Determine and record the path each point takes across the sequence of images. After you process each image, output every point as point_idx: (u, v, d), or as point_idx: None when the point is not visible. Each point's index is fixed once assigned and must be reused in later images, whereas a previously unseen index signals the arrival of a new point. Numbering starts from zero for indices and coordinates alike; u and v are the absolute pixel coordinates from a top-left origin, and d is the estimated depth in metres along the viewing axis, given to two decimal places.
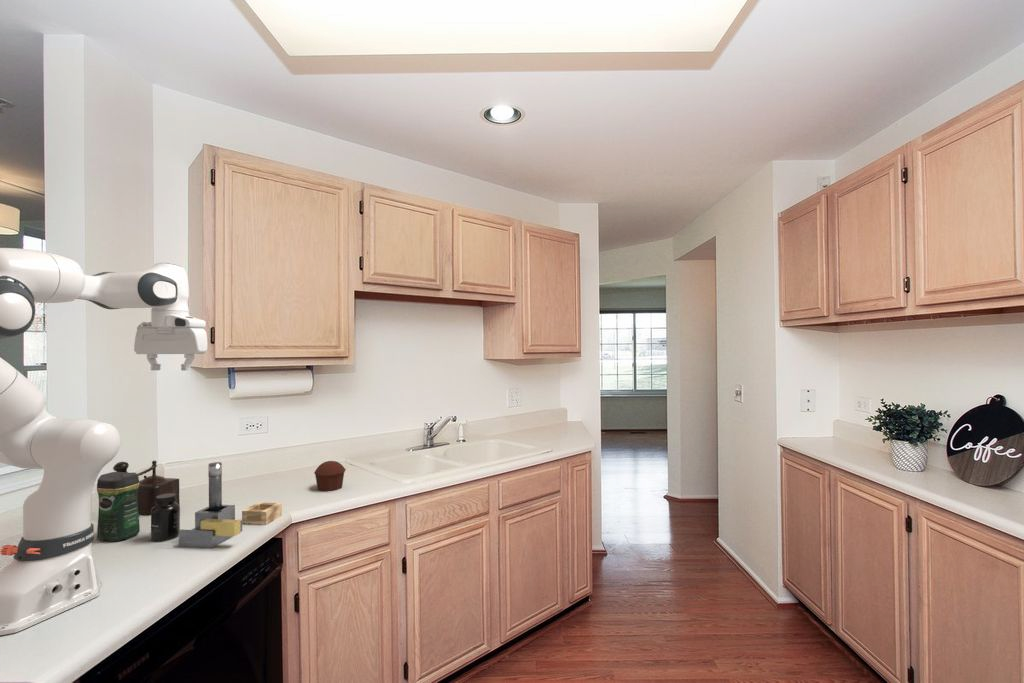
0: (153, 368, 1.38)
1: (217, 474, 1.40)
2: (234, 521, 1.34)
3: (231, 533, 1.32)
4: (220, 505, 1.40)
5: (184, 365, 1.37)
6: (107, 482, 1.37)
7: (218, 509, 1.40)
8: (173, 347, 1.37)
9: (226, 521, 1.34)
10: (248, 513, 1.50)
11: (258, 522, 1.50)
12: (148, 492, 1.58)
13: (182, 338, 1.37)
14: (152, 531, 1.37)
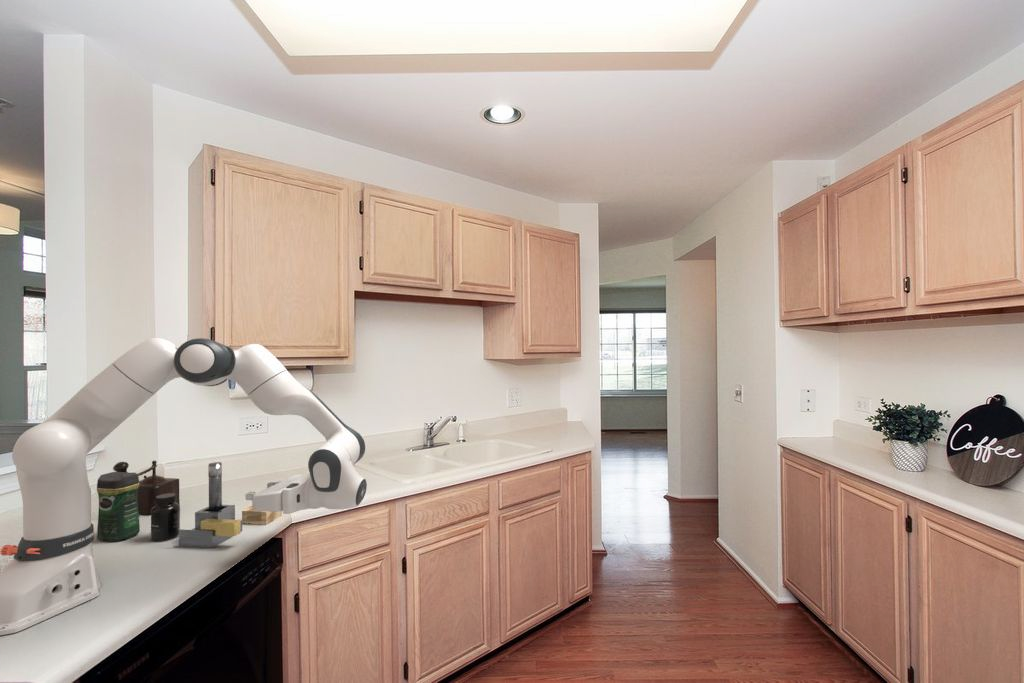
0: (270, 482, 1.37)
1: (217, 474, 1.40)
2: (234, 521, 1.34)
3: (231, 533, 1.32)
4: (220, 505, 1.40)
5: (251, 493, 1.28)
6: (107, 482, 1.37)
7: (218, 509, 1.40)
8: (275, 487, 1.30)
9: (226, 521, 1.34)
10: (248, 513, 1.50)
11: (258, 522, 1.50)
12: (148, 492, 1.58)
13: (278, 491, 1.27)
14: (152, 531, 1.37)
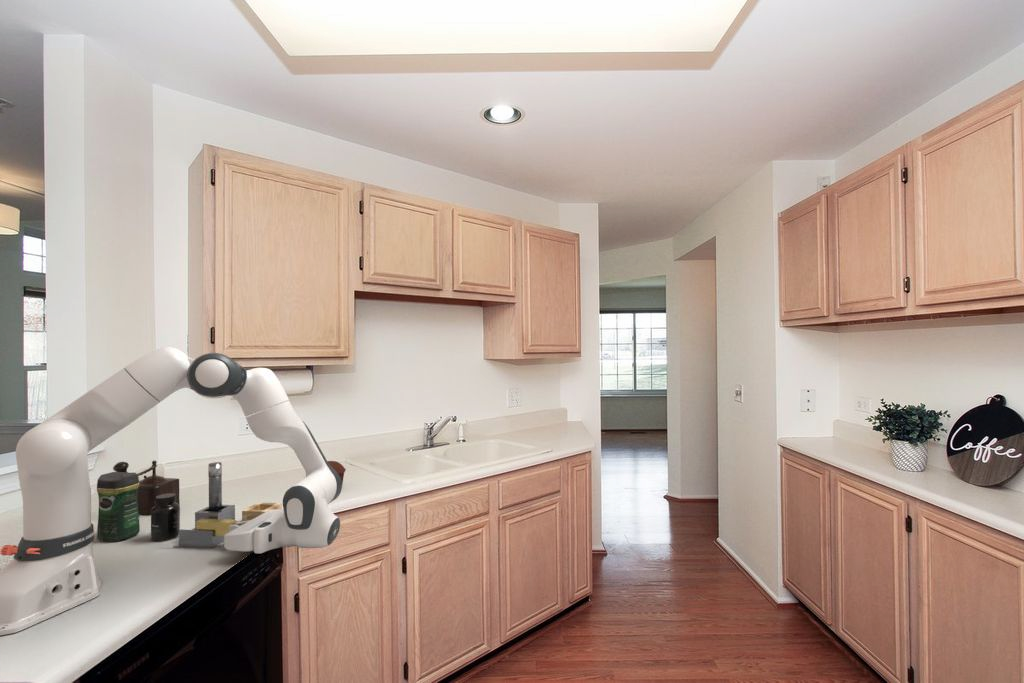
0: (235, 523, 1.34)
1: (217, 474, 1.40)
2: (229, 521, 1.34)
3: (226, 533, 1.33)
4: (220, 505, 1.40)
5: (234, 525, 1.32)
6: (107, 482, 1.37)
7: (218, 509, 1.40)
8: (248, 524, 1.30)
9: (221, 521, 1.34)
10: (248, 513, 1.50)
11: None
12: (148, 492, 1.58)
13: (250, 529, 1.27)
14: (152, 531, 1.37)
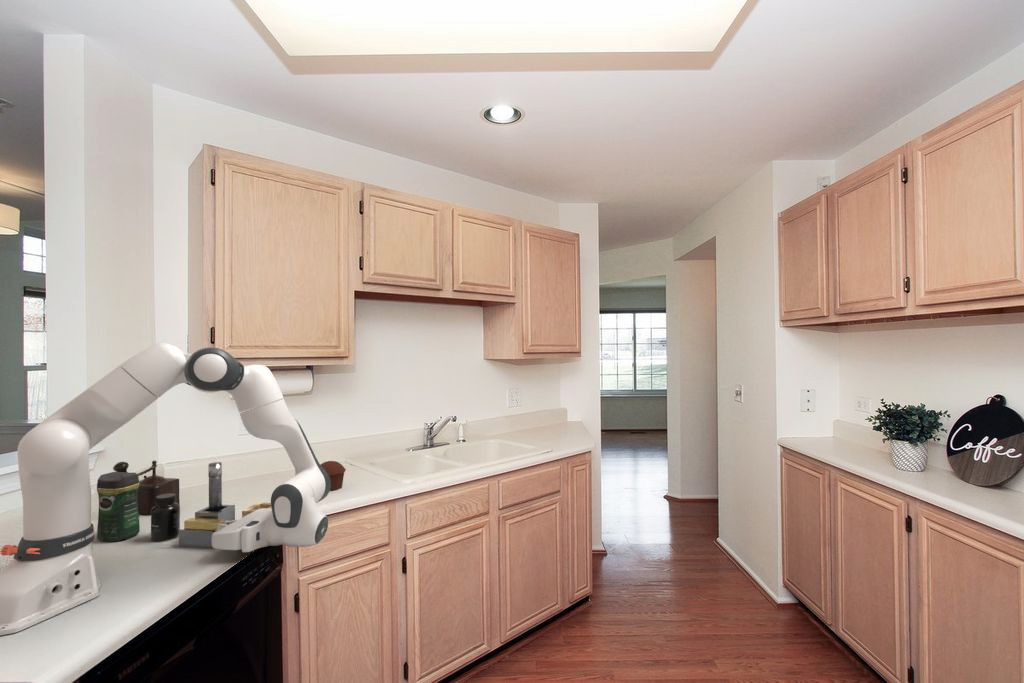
0: (224, 522, 1.35)
1: (217, 474, 1.40)
2: (218, 520, 1.34)
3: None
4: (220, 505, 1.40)
5: (222, 524, 1.33)
6: (107, 482, 1.37)
7: (218, 509, 1.40)
8: (236, 523, 1.31)
9: (210, 520, 1.34)
10: (248, 513, 1.50)
11: None
12: (148, 492, 1.58)
13: (238, 528, 1.28)
14: (152, 531, 1.37)
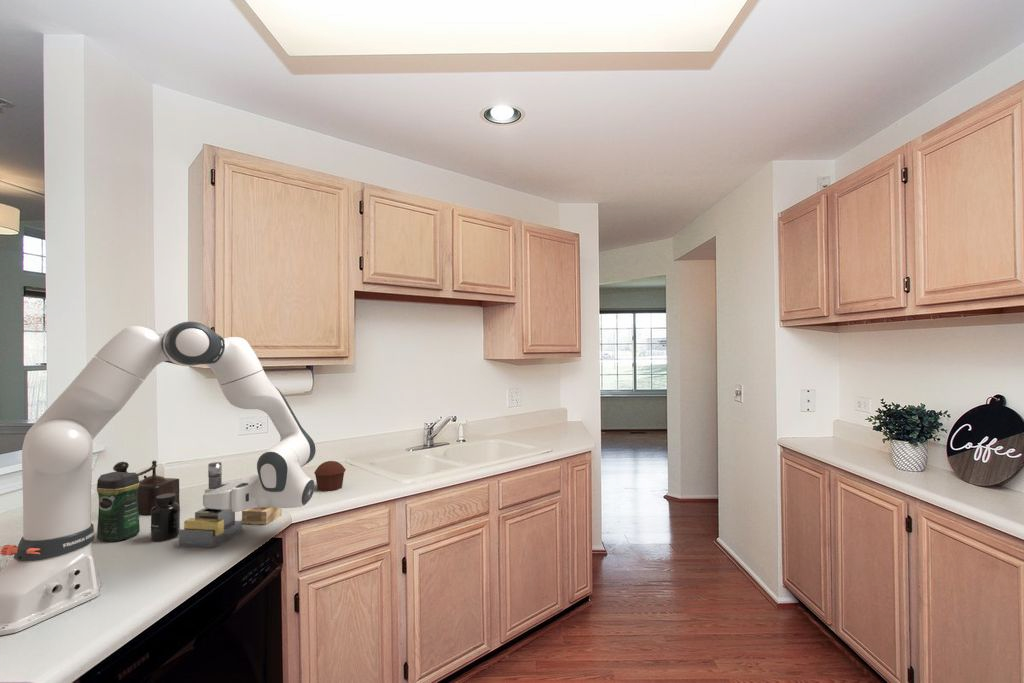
0: None
1: (217, 474, 1.40)
2: (218, 520, 1.34)
3: (214, 532, 1.33)
4: None
5: (210, 489, 1.38)
6: (107, 482, 1.37)
7: (218, 509, 1.40)
8: (227, 486, 1.37)
9: (210, 520, 1.34)
10: (248, 513, 1.50)
11: (258, 522, 1.50)
12: (148, 492, 1.58)
13: (229, 490, 1.35)
14: (152, 531, 1.37)
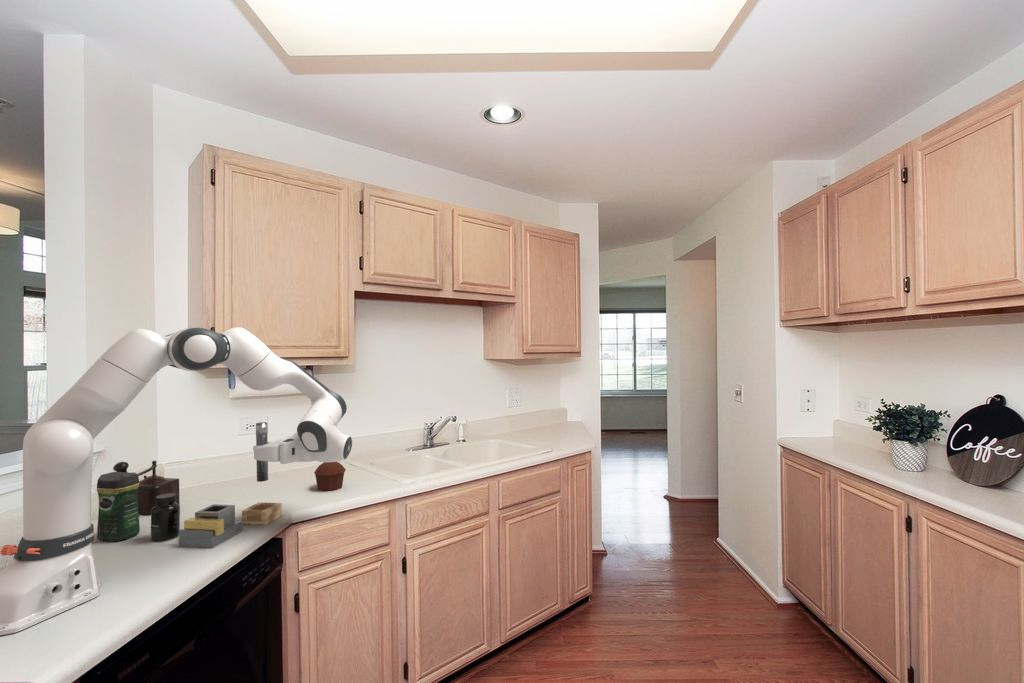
0: None
1: (264, 432, 1.53)
2: (218, 520, 1.34)
3: (214, 532, 1.33)
4: (266, 461, 1.54)
5: (258, 445, 1.51)
6: (107, 482, 1.37)
7: (265, 464, 1.53)
8: (274, 442, 1.51)
9: (210, 520, 1.34)
10: (248, 513, 1.50)
11: (258, 522, 1.50)
12: (148, 492, 1.58)
13: None
14: (152, 531, 1.37)
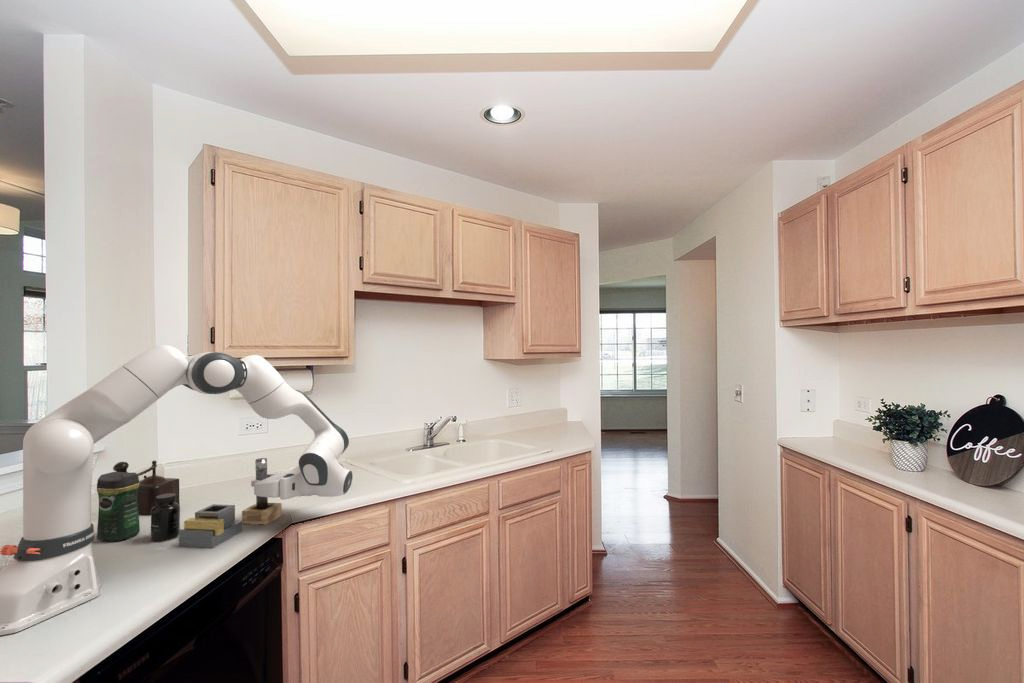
0: (267, 474, 1.57)
1: (264, 468, 1.53)
2: (218, 520, 1.34)
3: (214, 532, 1.33)
4: (266, 497, 1.54)
5: (256, 480, 1.50)
6: (107, 482, 1.37)
7: (265, 501, 1.53)
8: (274, 476, 1.51)
9: (210, 520, 1.34)
10: (248, 513, 1.50)
11: (258, 522, 1.50)
12: (148, 492, 1.58)
13: (276, 480, 1.48)
14: (152, 531, 1.37)
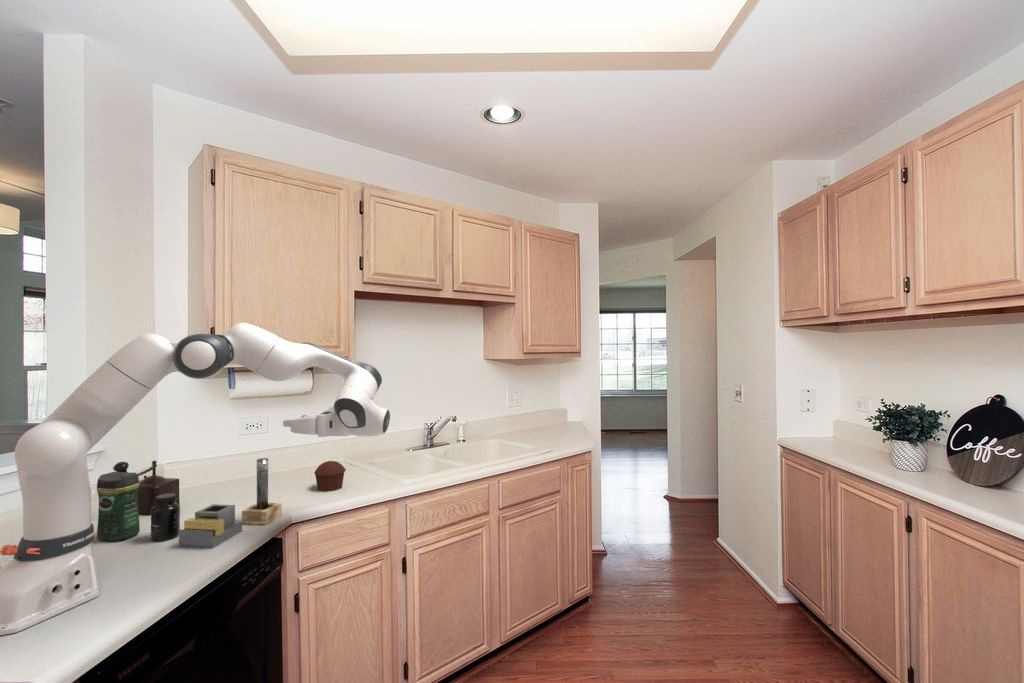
0: (303, 415, 1.53)
1: (265, 469, 1.53)
2: (218, 520, 1.34)
3: (214, 532, 1.33)
4: (267, 497, 1.54)
5: (288, 420, 1.43)
6: (107, 482, 1.37)
7: (265, 501, 1.53)
8: (309, 416, 1.45)
9: (210, 520, 1.34)
10: (248, 513, 1.50)
11: (258, 522, 1.50)
12: (148, 492, 1.58)
13: None
14: (152, 531, 1.37)
